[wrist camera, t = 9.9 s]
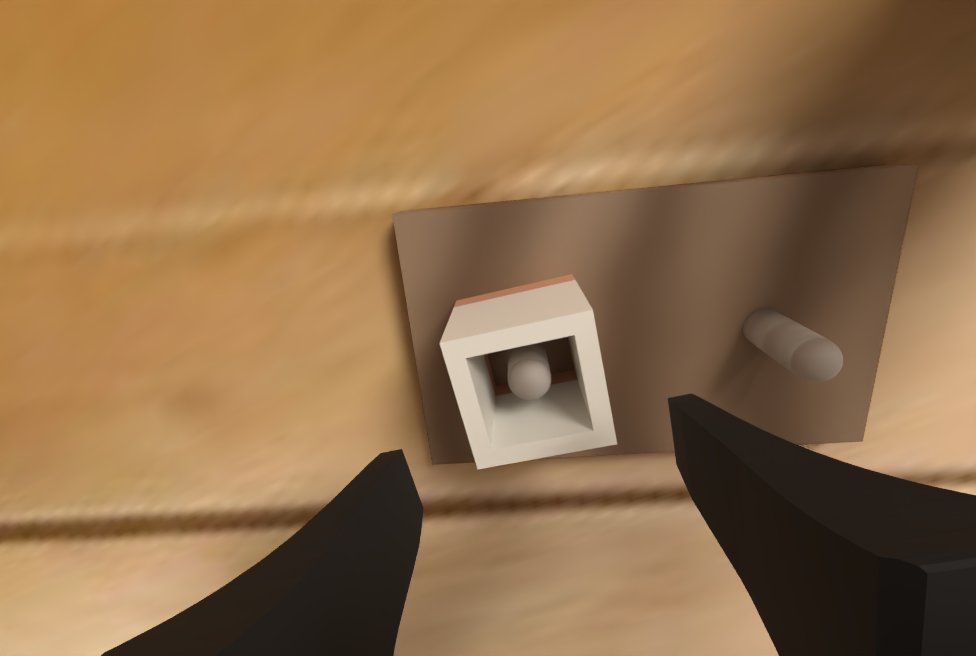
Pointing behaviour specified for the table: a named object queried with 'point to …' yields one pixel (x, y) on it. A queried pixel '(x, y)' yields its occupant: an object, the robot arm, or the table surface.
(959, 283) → the table surface
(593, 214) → the pin board
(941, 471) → the table surface
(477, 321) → the sleeve
